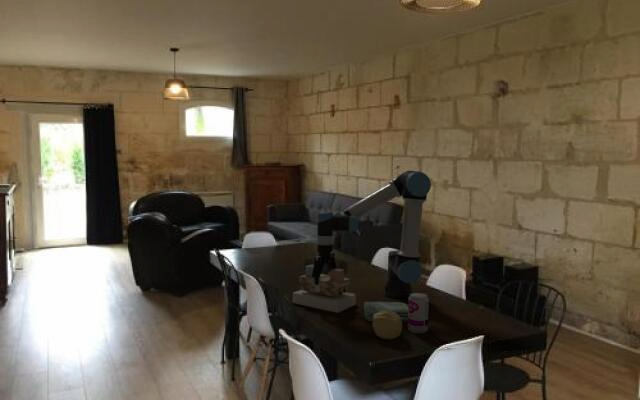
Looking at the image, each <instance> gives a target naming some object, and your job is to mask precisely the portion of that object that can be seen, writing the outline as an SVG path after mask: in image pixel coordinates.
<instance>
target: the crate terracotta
mask: <svg viewBox="0 0 640 400" xmlns="http://www.w3.org/2000/svg"><path fill="white" fill-rule="evenodd" d="M329 273H330V280H332V281H338V282H339V281H342V280H344V278H345V269H344V268H342V269H341V268H337V267H336V268H335V269H332V270H330V272H329Z"/></svg>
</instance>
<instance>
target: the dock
mask: <svg viewBox="0 0 640 400" xmlns="http://www.w3.org/2000/svg"><path fill="white" fill-rule="evenodd" d="M356 296H357V294H356V293H354V292H352V293H351V292H349V291H348V292H346V293H344V292H343V294H341V295H339V296H337V297H334V296H329V295H324V294H318V293H313V292H308V291H303V290H301V289H299V290H297V291H293V292H292V303H293V304H297V305H301V306H304V307H305V306H306V307H309V308H315V309H320V310H323V311H327V312H332V313H336V314H337V313H338V314H339V313H341V312H344V311H345V310H347V309H349V308H352V307H354V306H355V305H356V302H357V297H356Z"/></svg>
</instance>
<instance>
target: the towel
mask: <svg viewBox="0 0 640 400" xmlns="http://www.w3.org/2000/svg"><path fill="white" fill-rule="evenodd" d="M363 309H364V317H365V320H367V321H368V322H373V315H374V314H376V313H378V312H380V311H381V310H383V311H387V310H388V311H392V312H395V313H396V314H398V315H399V317H401V321H402V323H406V322H407V323H408V304H406V303H405V302H398V301H393V302H392V301H391V302H390V301H365V302H363Z"/></svg>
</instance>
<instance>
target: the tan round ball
mask: <svg viewBox="0 0 640 400" xmlns="http://www.w3.org/2000/svg"><path fill="white" fill-rule="evenodd" d="M372 328H373V330H374V333H375V335H376V336H377V337H378V338H380V339H381V340H394V339H396V338H398V337H399V336H400V335H401V333H402V331H403V322H402V321H401V317H399V315H398V314H396V313H395V312H392V311H388V310H387V311H383V310H381V311H380V312H378V313H376V314H374V315H373V321H372Z"/></svg>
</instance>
